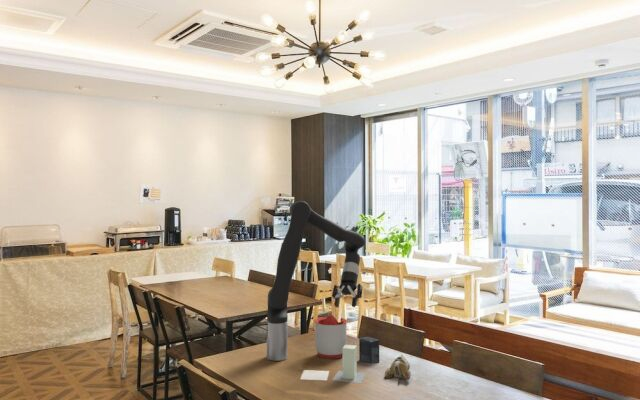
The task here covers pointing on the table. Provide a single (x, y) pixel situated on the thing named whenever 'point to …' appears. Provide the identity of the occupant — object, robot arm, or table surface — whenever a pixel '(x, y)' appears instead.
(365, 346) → the box
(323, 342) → the citrus juicer
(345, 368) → the pale green pillar
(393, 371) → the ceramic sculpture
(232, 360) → the table surface
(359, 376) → the post stand
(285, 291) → the robot arm
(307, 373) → the mat
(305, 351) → the table surface
